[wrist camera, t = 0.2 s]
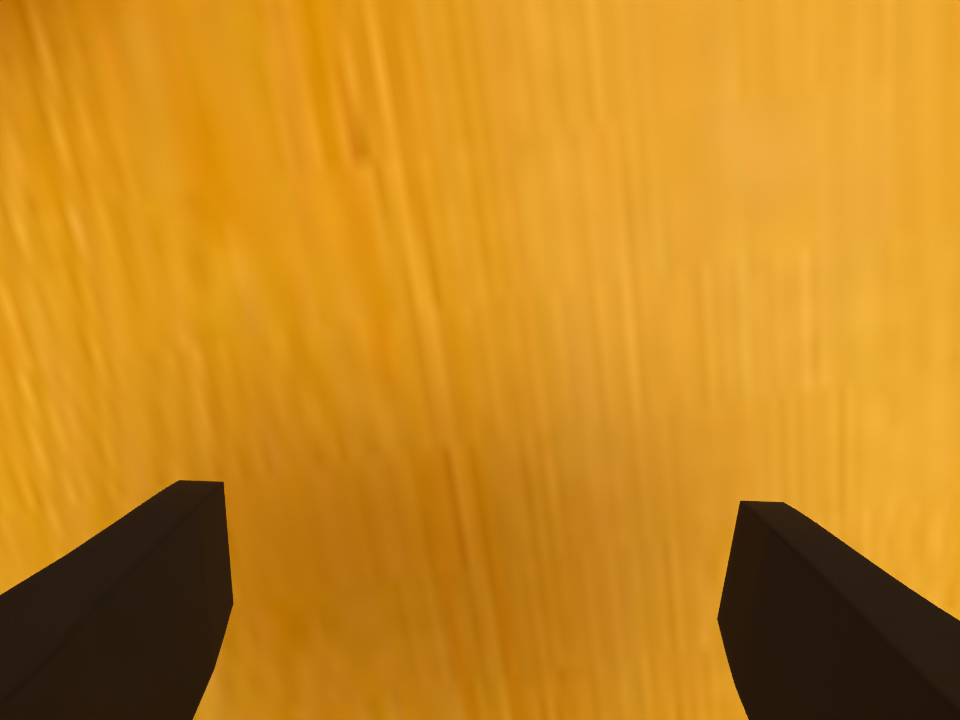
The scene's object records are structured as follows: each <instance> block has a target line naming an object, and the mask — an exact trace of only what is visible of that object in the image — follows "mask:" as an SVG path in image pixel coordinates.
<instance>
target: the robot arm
mask: <svg viewBox="0 0 960 720" xmlns="http://www.w3.org/2000/svg"><path fill="white" fill-rule="evenodd" d="M232 606H233V593H232V581H231V569H230V556H229V544H228V532H227V519H226V507H225V495H224V482H212V481H185V480H179V481H177V482H175V483H174V484H172V485H170V486H168V487H167V488H165V489H164V490H162V491H161V492H159V493H158V494H156V495H155V496H153V497H152V498H150V499H149V500H147V501H146V502H144V503H143V504H141V505H140V506H138V507H137V508H135V509H134V510H132V511H131V512H129V513H128V514H127V515H125V516H124V517H122V518H121V519H119V520H118V521H116V522H115V523H113V524H112V525H110V526H109V527H107V528H106V529H104V530H103V531H101V532H100V533H98V534H97V535H95V536H94V537H92V538H91V539H89V540H88V541H86V542H85V543H83V544H82V545H80V546H79V547H77V548H76V549H74V550H73V551H71V552H70V553H68V554H67V555H65V556H64V557H62V558H60V559H59V560H57V561H55V562H54V563H52V564H50V565H49V566H47V567H46V568H44V569H42V570H41V571H39V572H37V573H36V574H34V575H32V576H31V577H29V578H28V579H26V580H24V581H23V582H21V583H19V584H18V585H16V586H14V587H13V588H11V589H9V590H8V591H6V592H5V593H3V594H1V595H0V720H192V719H193V717H194V715H195V713H196V710H197V708H198V706H199V703H200V701H201V699H202V696H203V694H204V692H205V690H206V687H207V685H208V683H209V680H210V678H211V675H212V673H213V671H214V668H215V665H216V662H217V658H218V655H219V652H220V648H221V645H222V642H223V638H224V635H225V631H226V628H227V624H228V620H229V617H230V613H231V610H232ZM717 620H718V624H719V628H720V632H721V636H722V640H723V644H724V648H725V652H726V656H727V659H728V663H729V666H730V670H731V673H732V677H733V680H734V684H735V687H736V689H737V692H738V694H739V697H740V699H741V702H742V704H743V706H744V709H745V711H746V714H747V716H748V719H749V720H960V621H959V620H958V619H956V618H954V617H953V616H951V615H950V614H948V613H946V612H945V611H943V610H942V609H940V608H938V607H937V606H935V605H934V604H932V603H931V602H929V601H928V600H926V599H925V598H923V597H922V596H920V595H919V594H917V593H916V592H914V591H913V590H911V589H910V588H908V587H907V586H905V585H904V584H902V583H901V582H899V581H898V580H896V579H895V578H894V577H892V576H891V575H889V574H888V573H886V572H885V571H883V570H882V569H881V568H879V567H878V566H876V565H875V564H873V563H872V562H871V561H869V560H868V559H866V558H865V557H864V556H862V555H861V554H859V553H858V552H856V551H855V550H854V549H852V548H851V547H849V546H848V545H847V544H845V543H844V542H842V541H841V540H840V539H838V538H837V537H835V536H834V535H833V534H831V533H830V532H828V531H827V530H825V529H824V528H823V527H821V526H820V525H818V524H817V523H815V522H814V521H812V520H811V519H810V518H808V517H807V516H805V515H804V514H802V513H800V512H799V511H797V510H796V509H794V508H792V507H791V506H789V505H787V504H786V503H784V502H761V501H740V505H739V510H738V515H737V520H736V525H735V531H734V536H733V541H732V546H731V551H730V556H729V561H728V567H727V572H726V577H725V582H724V587H723V592H722V597H721V602H720V608H719V613H718V618H717Z"/></svg>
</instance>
